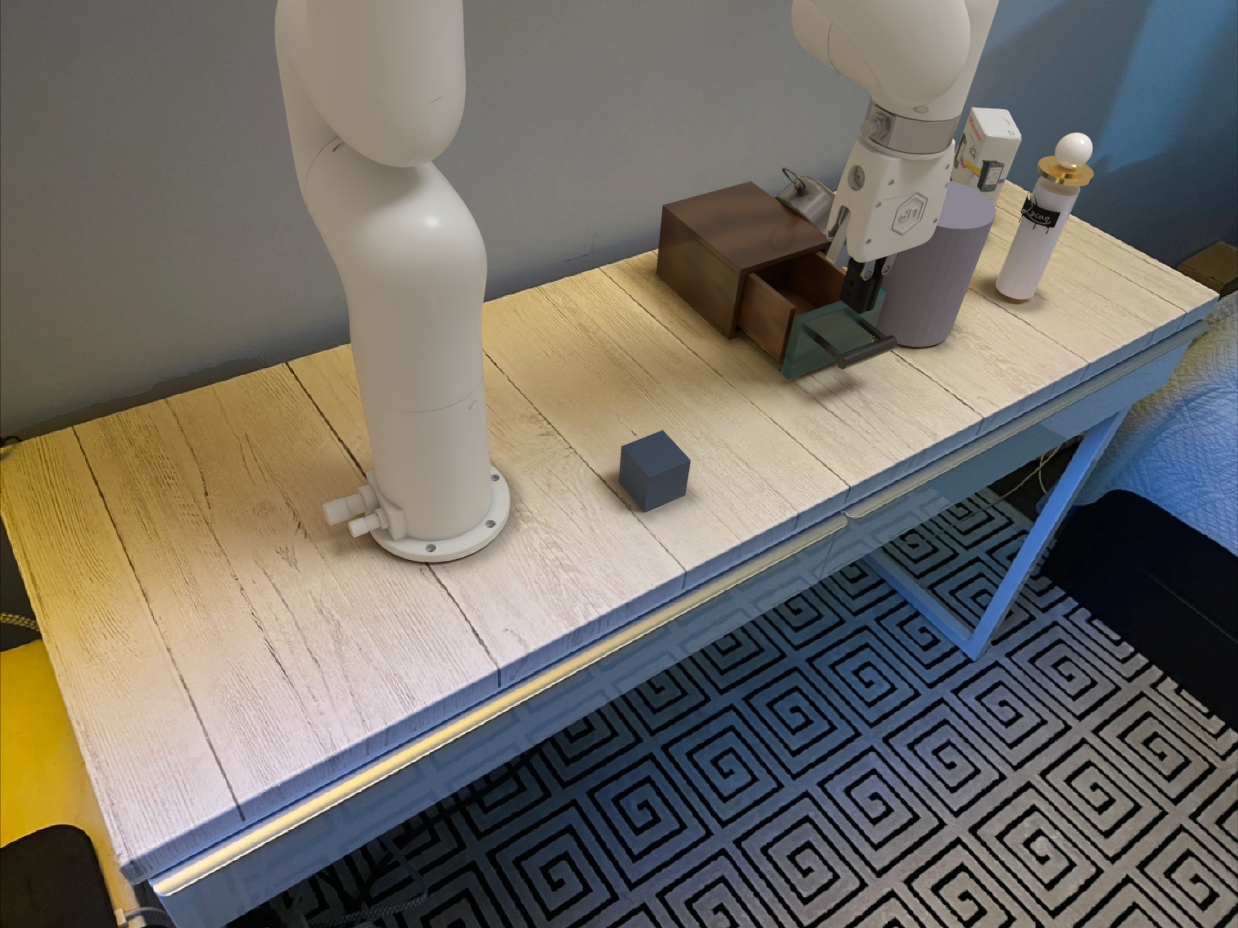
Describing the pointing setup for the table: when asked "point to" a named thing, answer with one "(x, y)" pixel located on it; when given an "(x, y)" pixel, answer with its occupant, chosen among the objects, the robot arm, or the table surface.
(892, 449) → the table surface
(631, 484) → the block
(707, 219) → the cabinet
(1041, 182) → the perfume bottle
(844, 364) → the drawer
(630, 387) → the table surface
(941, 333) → the container
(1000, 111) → the ink box
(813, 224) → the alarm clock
